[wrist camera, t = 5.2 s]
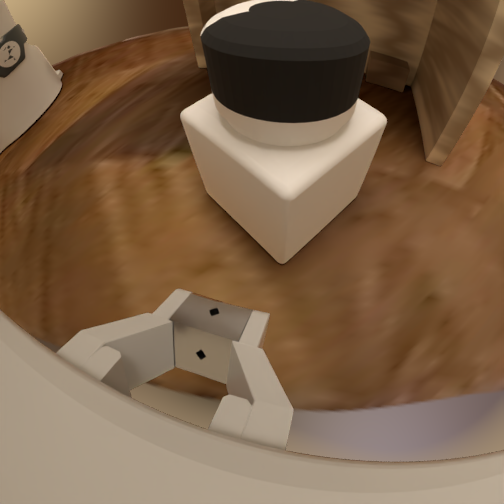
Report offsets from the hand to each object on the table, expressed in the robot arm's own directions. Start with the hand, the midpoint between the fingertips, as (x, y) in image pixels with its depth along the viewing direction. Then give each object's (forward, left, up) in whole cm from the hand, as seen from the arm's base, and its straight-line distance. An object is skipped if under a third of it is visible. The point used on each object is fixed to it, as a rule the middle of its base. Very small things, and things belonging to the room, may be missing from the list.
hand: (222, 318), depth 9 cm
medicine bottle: (0, +9, -7) cm, 11 cm away
